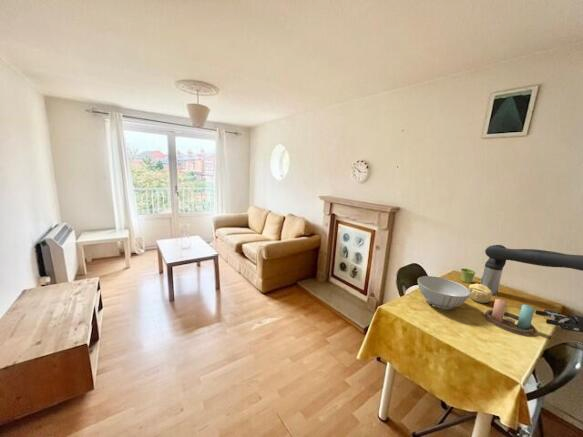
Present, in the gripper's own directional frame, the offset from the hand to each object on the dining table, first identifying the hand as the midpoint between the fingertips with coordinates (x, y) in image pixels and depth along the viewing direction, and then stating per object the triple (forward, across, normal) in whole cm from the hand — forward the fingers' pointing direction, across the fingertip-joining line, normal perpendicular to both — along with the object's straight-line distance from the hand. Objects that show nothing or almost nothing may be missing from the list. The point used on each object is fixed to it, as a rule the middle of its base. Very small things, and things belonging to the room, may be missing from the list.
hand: (541, 316), depth 118 cm
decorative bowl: (+42, -9, +8) cm, 43 cm away
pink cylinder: (+16, -2, +8) cm, 19 cm away
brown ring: (+11, -2, +8) cm, 14 cm away
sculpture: (+17, -26, +8) cm, 32 cm away
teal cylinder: (+6, 0, +8) cm, 10 cm away
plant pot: (+14, -57, +8) cm, 60 cm away
